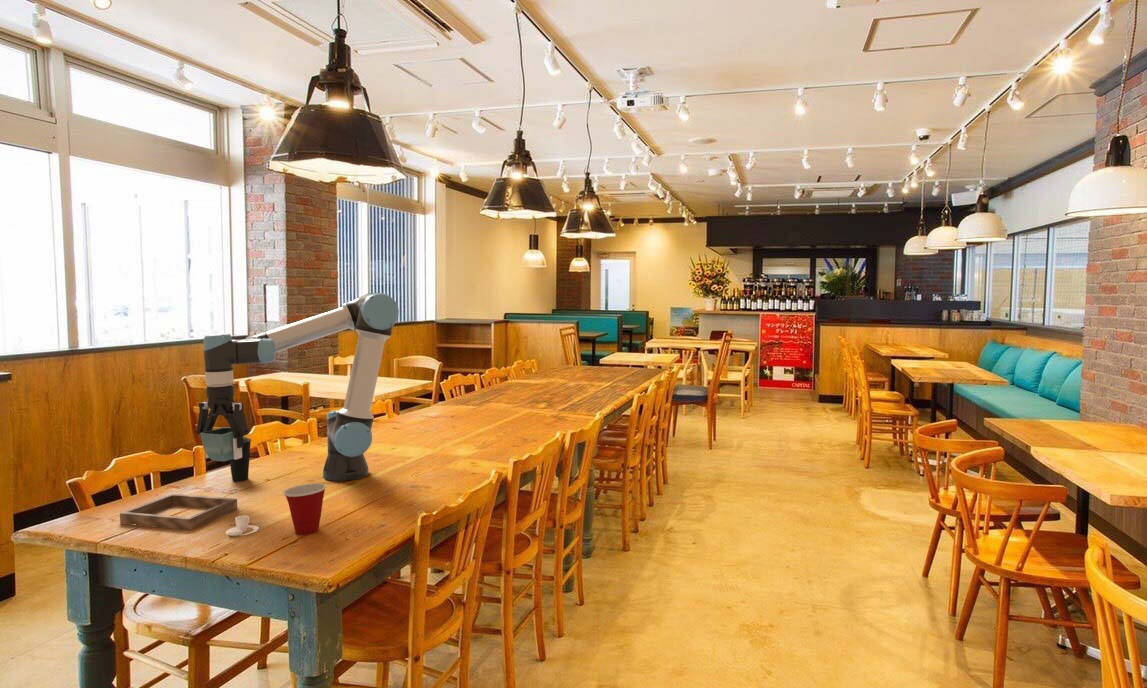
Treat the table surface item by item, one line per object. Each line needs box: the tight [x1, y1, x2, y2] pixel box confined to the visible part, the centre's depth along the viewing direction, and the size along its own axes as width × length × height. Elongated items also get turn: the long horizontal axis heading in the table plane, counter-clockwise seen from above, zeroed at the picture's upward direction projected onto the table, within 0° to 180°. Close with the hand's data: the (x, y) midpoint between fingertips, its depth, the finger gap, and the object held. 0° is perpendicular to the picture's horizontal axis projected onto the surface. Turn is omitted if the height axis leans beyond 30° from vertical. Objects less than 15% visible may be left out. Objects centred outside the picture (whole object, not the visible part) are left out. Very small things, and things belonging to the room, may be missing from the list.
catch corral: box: [119, 493, 238, 531], centre depth 193 cm, size 22×18×3 cm
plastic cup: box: [283, 482, 327, 536], centre depth 181 cm, size 11×11×12 cm
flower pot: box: [199, 426, 245, 462], centre depth 206 cm, size 9×9×9 cm
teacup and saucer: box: [225, 515, 260, 537], centre depth 181 cm, size 9×8×4 cm
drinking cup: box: [229, 436, 252, 483], centre depth 229 cm, size 8×8×20 cm
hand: (224, 457), depth 206 cm, fingers closed on flower pot, 9 cm apart
